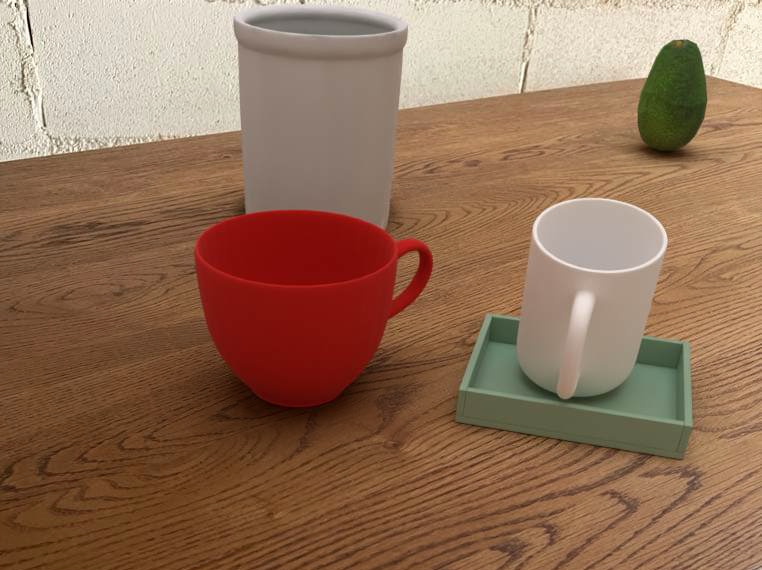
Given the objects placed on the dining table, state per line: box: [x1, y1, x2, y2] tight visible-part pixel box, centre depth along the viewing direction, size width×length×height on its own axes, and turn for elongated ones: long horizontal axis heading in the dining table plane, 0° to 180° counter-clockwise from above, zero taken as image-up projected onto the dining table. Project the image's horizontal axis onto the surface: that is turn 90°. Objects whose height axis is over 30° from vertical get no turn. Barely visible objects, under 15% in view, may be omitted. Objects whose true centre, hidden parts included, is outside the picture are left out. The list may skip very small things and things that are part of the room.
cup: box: [516, 197, 669, 399], centre depth 60 cm, size 8×12×10 cm
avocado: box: [636, 38, 708, 152], centre depth 108 cm, size 8×8×12 cm
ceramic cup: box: [193, 210, 434, 408], centre depth 63 cm, size 13×17×10 cm
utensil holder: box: [232, 3, 409, 231], centre depth 84 cm, size 15×15×18 cm
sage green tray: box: [454, 312, 694, 460], centre depth 64 cm, size 15×12×2 cm
